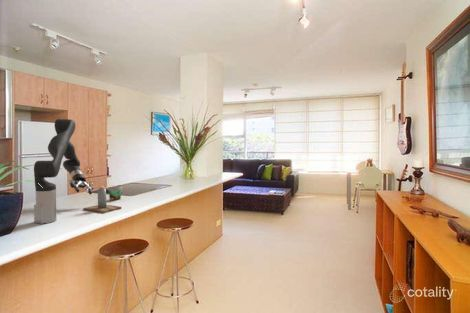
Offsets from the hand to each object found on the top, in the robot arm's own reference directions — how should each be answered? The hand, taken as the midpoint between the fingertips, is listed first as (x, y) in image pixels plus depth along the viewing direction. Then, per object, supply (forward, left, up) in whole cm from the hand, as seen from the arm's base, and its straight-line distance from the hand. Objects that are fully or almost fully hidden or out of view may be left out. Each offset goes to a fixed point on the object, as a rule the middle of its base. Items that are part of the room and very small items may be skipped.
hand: (84, 192), depth 181 cm
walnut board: (+4, -11, -11) cm, 16 cm away
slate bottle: (+4, -11, -9) cm, 15 cm away
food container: (+31, +5, -11) cm, 33 cm away
